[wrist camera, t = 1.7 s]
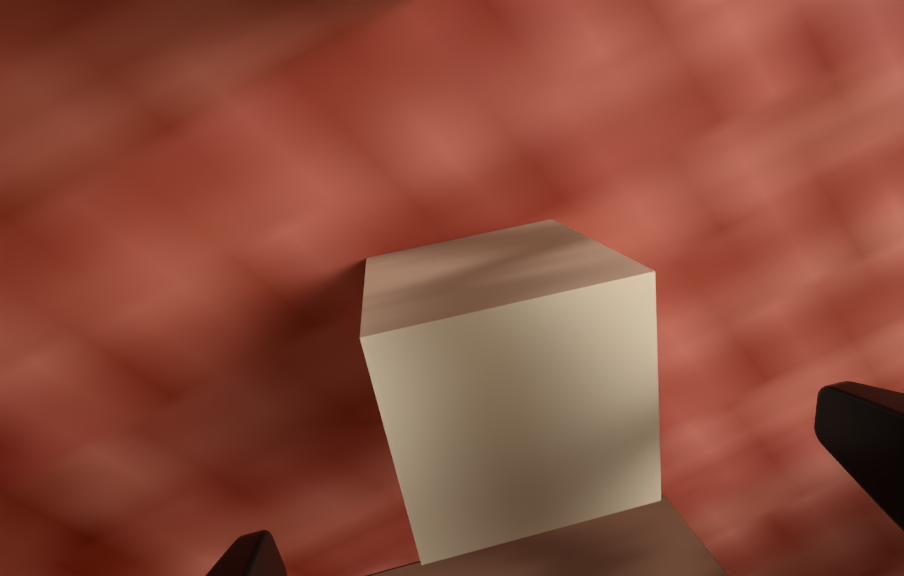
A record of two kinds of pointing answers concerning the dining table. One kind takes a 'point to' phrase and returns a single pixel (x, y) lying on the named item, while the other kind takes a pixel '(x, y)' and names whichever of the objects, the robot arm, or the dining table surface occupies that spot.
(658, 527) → the beige flat block
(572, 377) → the birch cube
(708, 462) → the dining table surface
